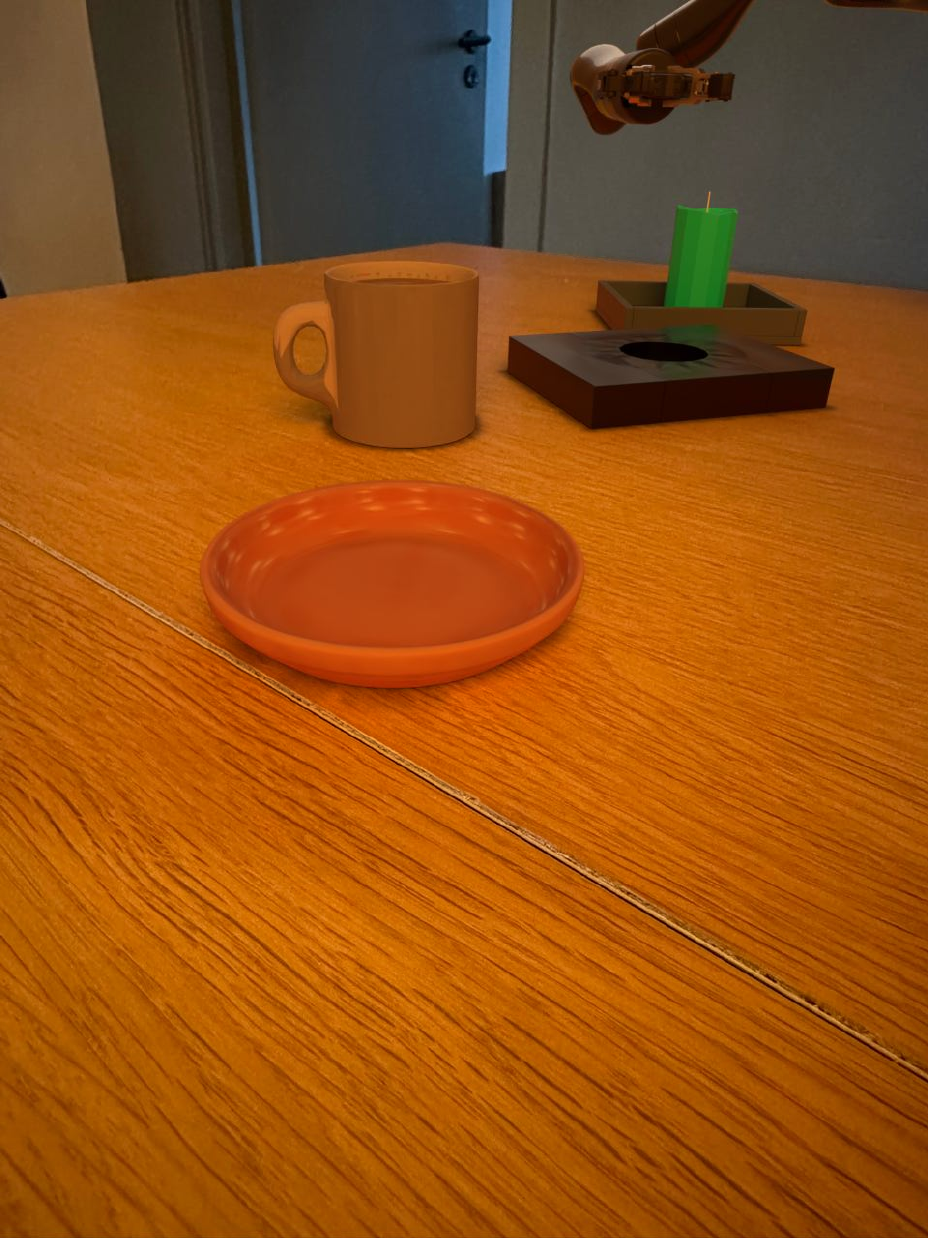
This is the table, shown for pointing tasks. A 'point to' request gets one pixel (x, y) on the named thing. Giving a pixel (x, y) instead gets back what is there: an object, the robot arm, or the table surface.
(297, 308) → the coffee mug
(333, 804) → the table surface
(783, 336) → the brown open tray
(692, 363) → the dark brown flat block
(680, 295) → the candle
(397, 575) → the saucer
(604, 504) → the table surface
